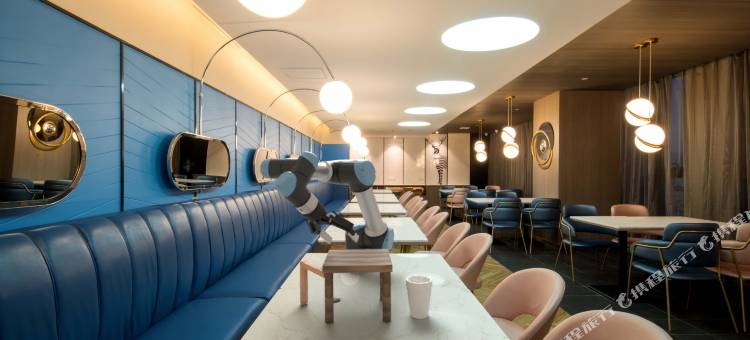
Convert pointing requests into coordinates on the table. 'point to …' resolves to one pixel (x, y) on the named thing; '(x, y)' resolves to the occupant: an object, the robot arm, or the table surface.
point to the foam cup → (419, 295)
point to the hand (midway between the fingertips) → (343, 240)
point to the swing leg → (304, 278)
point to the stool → (358, 264)
